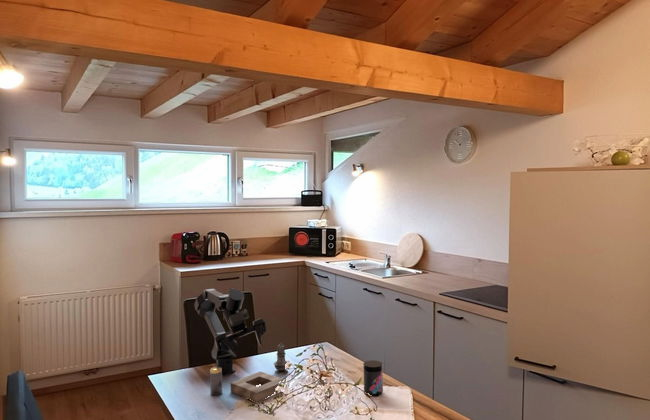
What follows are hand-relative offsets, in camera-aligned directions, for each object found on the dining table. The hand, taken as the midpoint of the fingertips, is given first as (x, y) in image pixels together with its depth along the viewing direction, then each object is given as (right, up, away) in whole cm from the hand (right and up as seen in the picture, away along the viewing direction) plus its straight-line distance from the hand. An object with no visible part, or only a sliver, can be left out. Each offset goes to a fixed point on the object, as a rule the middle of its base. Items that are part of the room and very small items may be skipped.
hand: (249, 351), depth 169 cm
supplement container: (+44, -14, -2) cm, 46 cm away
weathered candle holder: (+10, -14, +20) cm, 26 cm away
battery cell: (-12, -15, 0) cm, 19 cm away
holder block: (+3, -15, +2) cm, 15 cm away
